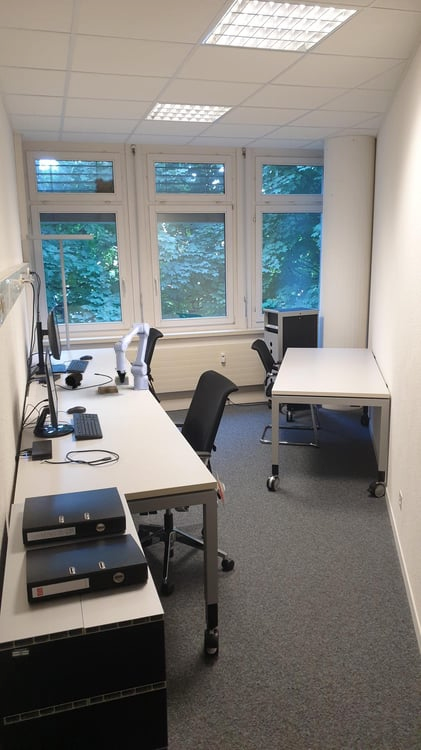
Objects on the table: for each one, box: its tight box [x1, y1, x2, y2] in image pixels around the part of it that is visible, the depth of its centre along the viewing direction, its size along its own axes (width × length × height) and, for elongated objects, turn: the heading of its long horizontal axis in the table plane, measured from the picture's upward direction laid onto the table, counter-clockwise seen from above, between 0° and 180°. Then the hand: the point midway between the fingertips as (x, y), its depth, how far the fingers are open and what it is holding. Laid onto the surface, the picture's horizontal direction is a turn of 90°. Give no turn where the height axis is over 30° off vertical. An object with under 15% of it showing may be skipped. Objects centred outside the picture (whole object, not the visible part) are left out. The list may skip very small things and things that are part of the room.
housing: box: [114, 375, 130, 386], centre depth 347 cm, size 8×4×5 cm, turn 105°
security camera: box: [64, 371, 84, 390], centre depth 368 cm, size 7×18×10 cm, turn 174°
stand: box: [97, 385, 119, 395], centre depth 358 cm, size 12×12×2 cm
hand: (121, 382), depth 348 cm, fingers closed on housing, 4 cm apart
